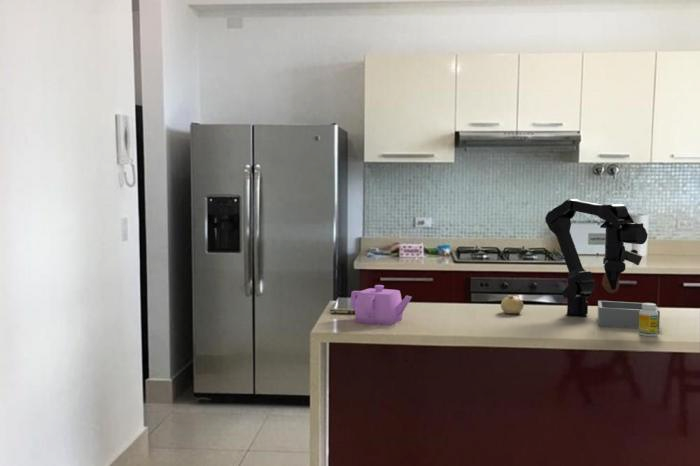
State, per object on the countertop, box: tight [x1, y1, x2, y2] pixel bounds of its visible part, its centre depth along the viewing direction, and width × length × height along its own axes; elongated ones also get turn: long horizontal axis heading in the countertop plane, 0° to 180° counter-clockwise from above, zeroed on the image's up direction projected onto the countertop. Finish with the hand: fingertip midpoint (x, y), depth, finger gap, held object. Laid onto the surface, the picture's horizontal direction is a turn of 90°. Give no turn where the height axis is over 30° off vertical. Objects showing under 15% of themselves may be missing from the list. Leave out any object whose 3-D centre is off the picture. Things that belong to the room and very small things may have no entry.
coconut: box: [601, 272, 620, 294], centre depth 211 cm, size 5×5×8 cm
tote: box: [597, 300, 661, 331], centre depth 210 cm, size 18×14×6 cm
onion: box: [500, 294, 524, 315], centre depth 228 cm, size 8×8×7 cm
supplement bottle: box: [638, 302, 659, 337], centre depth 193 cm, size 5×5×10 cm
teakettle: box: [349, 284, 412, 326], centre depth 215 cm, size 17×17×12 cm
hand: (613, 288), depth 211 cm, fingers closed on coconut, 5 cm apart
